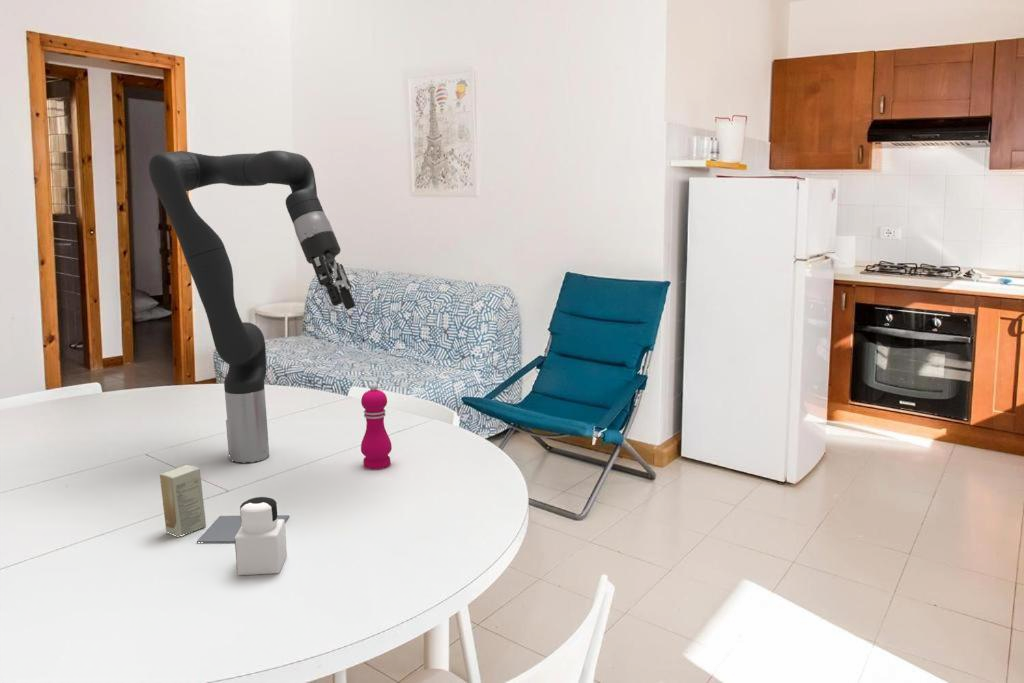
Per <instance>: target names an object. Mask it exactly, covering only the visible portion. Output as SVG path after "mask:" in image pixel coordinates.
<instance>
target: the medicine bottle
mask: <svg viewBox="0 0 1024 683" xmlns="http://www.w3.org/2000/svg"><path fill="white" fill-rule="evenodd" d="M239 511H240V512H239V513H240V516H241V525H242V526H241V528H240V529H239V531H238V533H237V534H236V536H235V543H234V546H235V559H236V572H237V575H238V576H253V575H254V576H255V575H274V574H275V575H276V574H277V575H278V574H279V573H281V570H282V567H283V565H284V563H285V561H286V558H287V556H288V550H287V536H286V523H285V521H284V519H278V517H277V515H278V506H277V501H276V500H275V499H274V498H271V497H266V496H257V497H253V498H249V499H247V500H245V501H244V502H242V503H241V505H240V506H239Z"/></svg>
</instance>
